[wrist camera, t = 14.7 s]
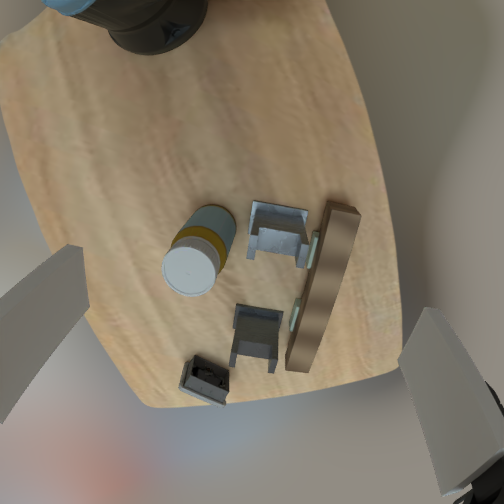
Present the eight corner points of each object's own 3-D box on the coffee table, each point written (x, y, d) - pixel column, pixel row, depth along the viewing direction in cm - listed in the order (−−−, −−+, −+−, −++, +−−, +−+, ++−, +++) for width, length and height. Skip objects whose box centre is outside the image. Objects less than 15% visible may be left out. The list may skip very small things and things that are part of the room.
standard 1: (236, 303, 52) (227, 346, 42) (283, 311, 52) (283, 355, 42) (233, 326, 54) (223, 370, 44) (277, 333, 54) (276, 378, 44)
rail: (327, 201, 41) (331, 209, 38) (354, 206, 41) (361, 215, 38) (285, 354, 53) (285, 370, 49) (307, 357, 53) (308, 373, 49)
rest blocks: (313, 231, 46) (315, 237, 44) (344, 237, 46) (348, 243, 44) (289, 321, 53) (289, 330, 51) (316, 325, 53) (318, 334, 51)
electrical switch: (184, 363, 59) (174, 394, 51) (194, 346, 58) (184, 378, 49) (224, 381, 61) (220, 414, 52) (236, 366, 59) (233, 399, 51)
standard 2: (253, 200, 45) (246, 225, 35) (307, 210, 45) (316, 238, 35) (248, 232, 47) (239, 265, 37) (300, 241, 47) (306, 276, 37)
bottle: (246, 222, 46) (232, 269, 32) (219, 255, 49) (197, 310, 35) (207, 194, 45) (177, 229, 31) (183, 229, 47) (147, 275, 34)
